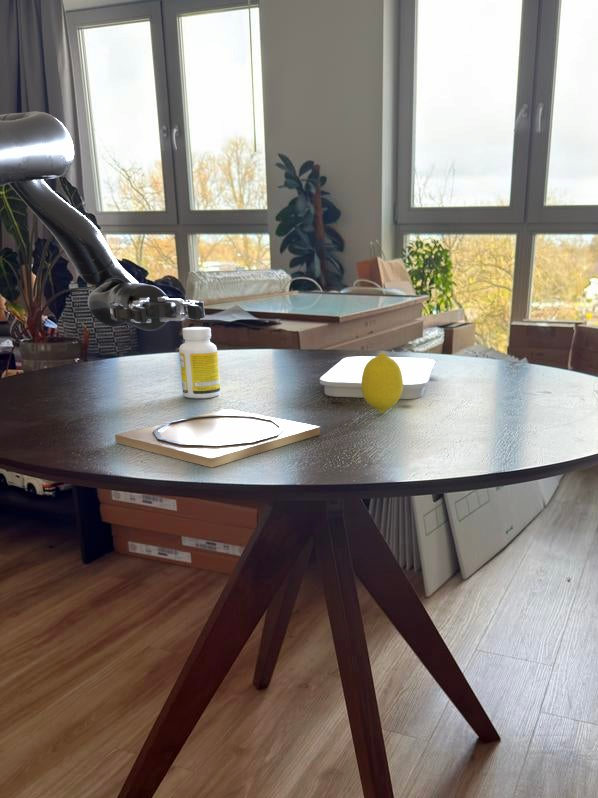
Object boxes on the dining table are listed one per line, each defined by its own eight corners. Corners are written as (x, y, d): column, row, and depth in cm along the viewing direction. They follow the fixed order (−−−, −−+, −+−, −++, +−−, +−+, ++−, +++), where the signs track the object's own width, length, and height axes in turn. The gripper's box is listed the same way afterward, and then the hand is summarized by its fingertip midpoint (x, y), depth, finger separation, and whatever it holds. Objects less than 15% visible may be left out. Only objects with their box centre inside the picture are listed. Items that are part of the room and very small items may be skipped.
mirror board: (211, 467, 73) (211, 456, 73) (115, 442, 82) (114, 432, 82) (320, 434, 86) (320, 424, 86) (227, 416, 95) (226, 407, 95)
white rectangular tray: (436, 371, 129) (436, 358, 129) (425, 400, 105) (425, 385, 104) (346, 368, 131) (346, 355, 131) (316, 396, 107) (315, 381, 106)
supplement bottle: (227, 394, 109) (223, 327, 105) (205, 400, 104) (199, 331, 101) (198, 391, 111) (193, 325, 107) (175, 397, 106) (168, 328, 103)
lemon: (360, 417, 95) (360, 356, 92) (362, 408, 100) (362, 349, 97) (402, 417, 95) (403, 356, 92) (402, 408, 100) (403, 350, 97)
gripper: (95, 284, 120) (122, 290, 107) (179, 282, 127) (213, 287, 115) (101, 330, 123) (128, 342, 110) (183, 325, 130) (217, 336, 117)
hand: (171, 314), depth 112 cm, fingers open, 8 cm apart
